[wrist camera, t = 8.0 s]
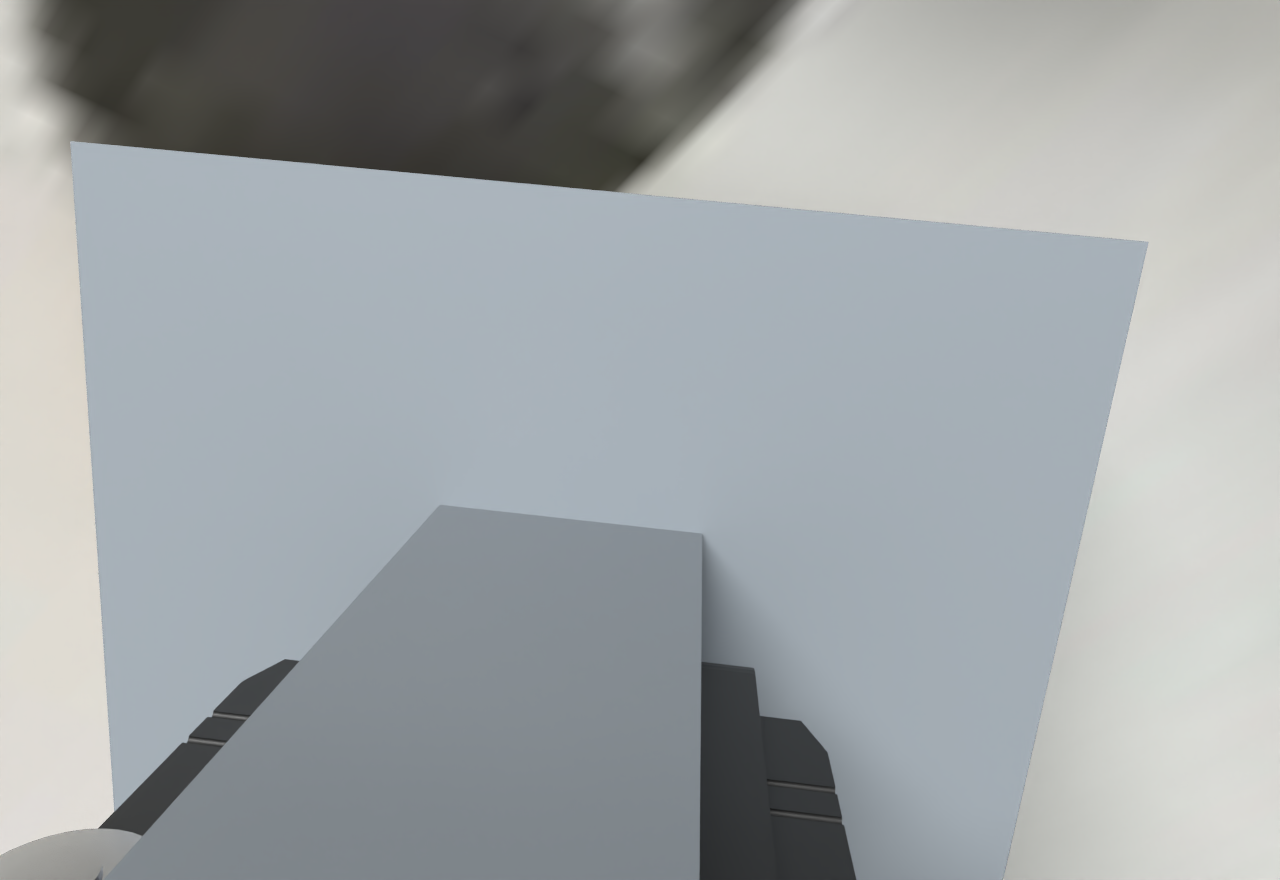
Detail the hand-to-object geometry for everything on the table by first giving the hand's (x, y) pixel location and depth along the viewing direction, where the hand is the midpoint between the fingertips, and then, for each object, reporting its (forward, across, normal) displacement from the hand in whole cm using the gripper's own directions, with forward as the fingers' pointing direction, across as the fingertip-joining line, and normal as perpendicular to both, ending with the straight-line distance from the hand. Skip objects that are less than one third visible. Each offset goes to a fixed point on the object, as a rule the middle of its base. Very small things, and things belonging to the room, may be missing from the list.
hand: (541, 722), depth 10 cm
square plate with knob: (+10, 0, 0) cm, 10 cm away
